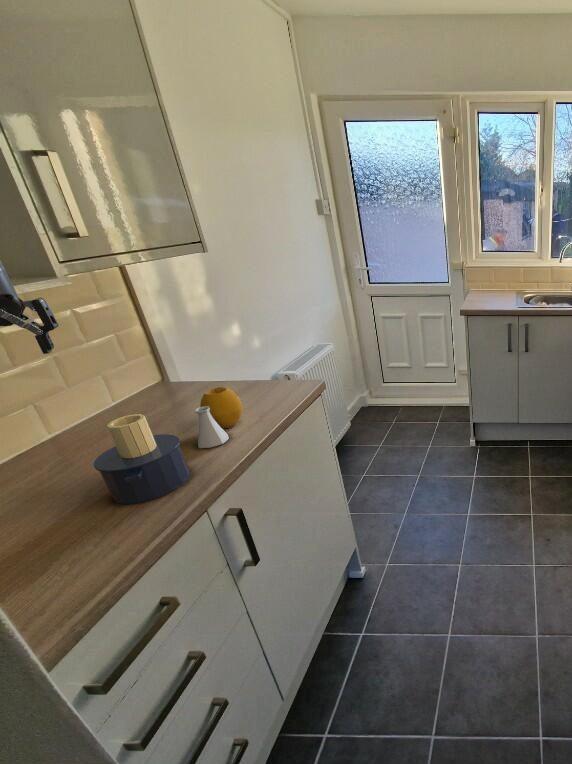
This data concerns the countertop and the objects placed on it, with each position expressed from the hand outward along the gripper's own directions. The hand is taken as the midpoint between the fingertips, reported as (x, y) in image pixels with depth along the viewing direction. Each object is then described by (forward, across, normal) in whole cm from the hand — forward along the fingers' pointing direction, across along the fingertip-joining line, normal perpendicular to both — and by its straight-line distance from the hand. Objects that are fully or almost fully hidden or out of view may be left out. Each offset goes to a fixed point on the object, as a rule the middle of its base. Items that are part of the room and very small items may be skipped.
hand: (17, 356), depth 79 cm
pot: (+32, -12, +4) cm, 35 cm away
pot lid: (+24, -12, +4) cm, 27 cm away
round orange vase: (+32, -26, -20) cm, 46 cm away
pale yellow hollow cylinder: (+23, -12, +4) cm, 26 cm away
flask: (+32, -23, -11) cm, 41 cm away
